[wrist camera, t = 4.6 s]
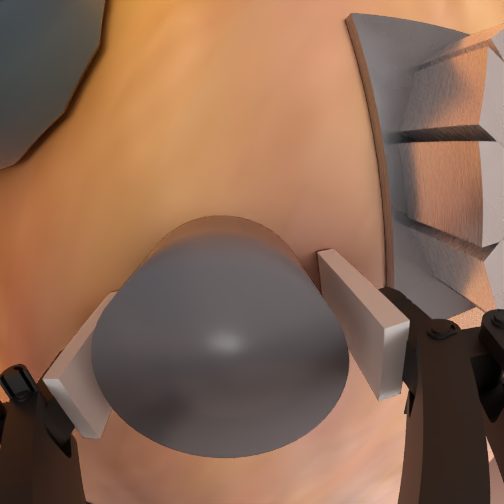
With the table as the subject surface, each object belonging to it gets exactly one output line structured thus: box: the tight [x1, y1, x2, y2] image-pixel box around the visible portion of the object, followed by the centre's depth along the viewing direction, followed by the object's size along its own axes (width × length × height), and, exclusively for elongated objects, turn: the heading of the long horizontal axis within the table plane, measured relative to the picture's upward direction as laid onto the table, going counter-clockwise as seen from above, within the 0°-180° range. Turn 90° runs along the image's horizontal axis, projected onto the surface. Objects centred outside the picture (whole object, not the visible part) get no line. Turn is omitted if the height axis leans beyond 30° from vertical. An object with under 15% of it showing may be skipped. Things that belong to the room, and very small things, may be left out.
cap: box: [91, 216, 349, 458], centre depth 11 cm, size 8×8×6 cm
